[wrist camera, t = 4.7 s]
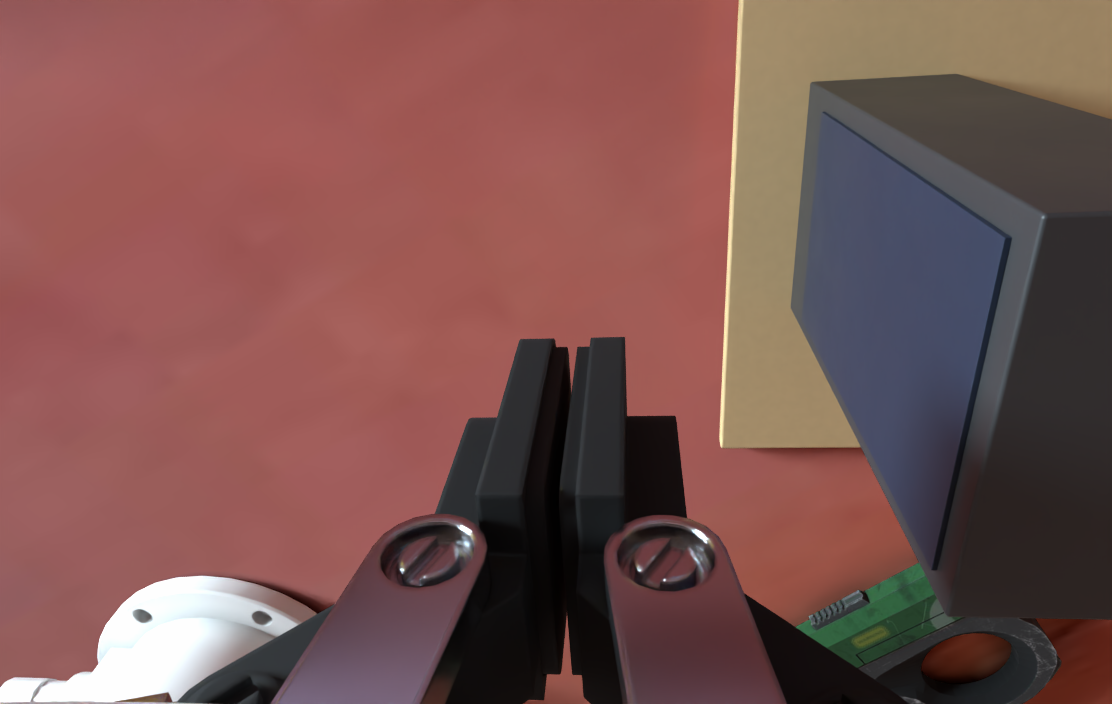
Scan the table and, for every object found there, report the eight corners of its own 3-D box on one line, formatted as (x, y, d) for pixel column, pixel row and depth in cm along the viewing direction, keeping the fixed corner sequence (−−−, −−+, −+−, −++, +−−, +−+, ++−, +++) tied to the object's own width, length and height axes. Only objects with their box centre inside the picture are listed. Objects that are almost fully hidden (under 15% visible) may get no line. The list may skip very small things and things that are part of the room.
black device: (786, 308, 24) (939, 619, 12) (806, 81, 21) (1035, 214, 9) (918, 305, 24) (1202, 622, 12) (958, 73, 20) (1396, 201, 9)
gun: (765, 837, 35) (631, 727, 33) (760, 806, 37) (631, 699, 34) (1102, 700, 30) (975, 552, 27) (1082, 670, 31) (959, 525, 28)
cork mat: (719, 439, 27) (721, 449, 27) (744, -142, 19) (748, -146, 18) (1314, 435, 25) (1328, 445, 25) (1626, -218, 17) (1659, -224, 16)
